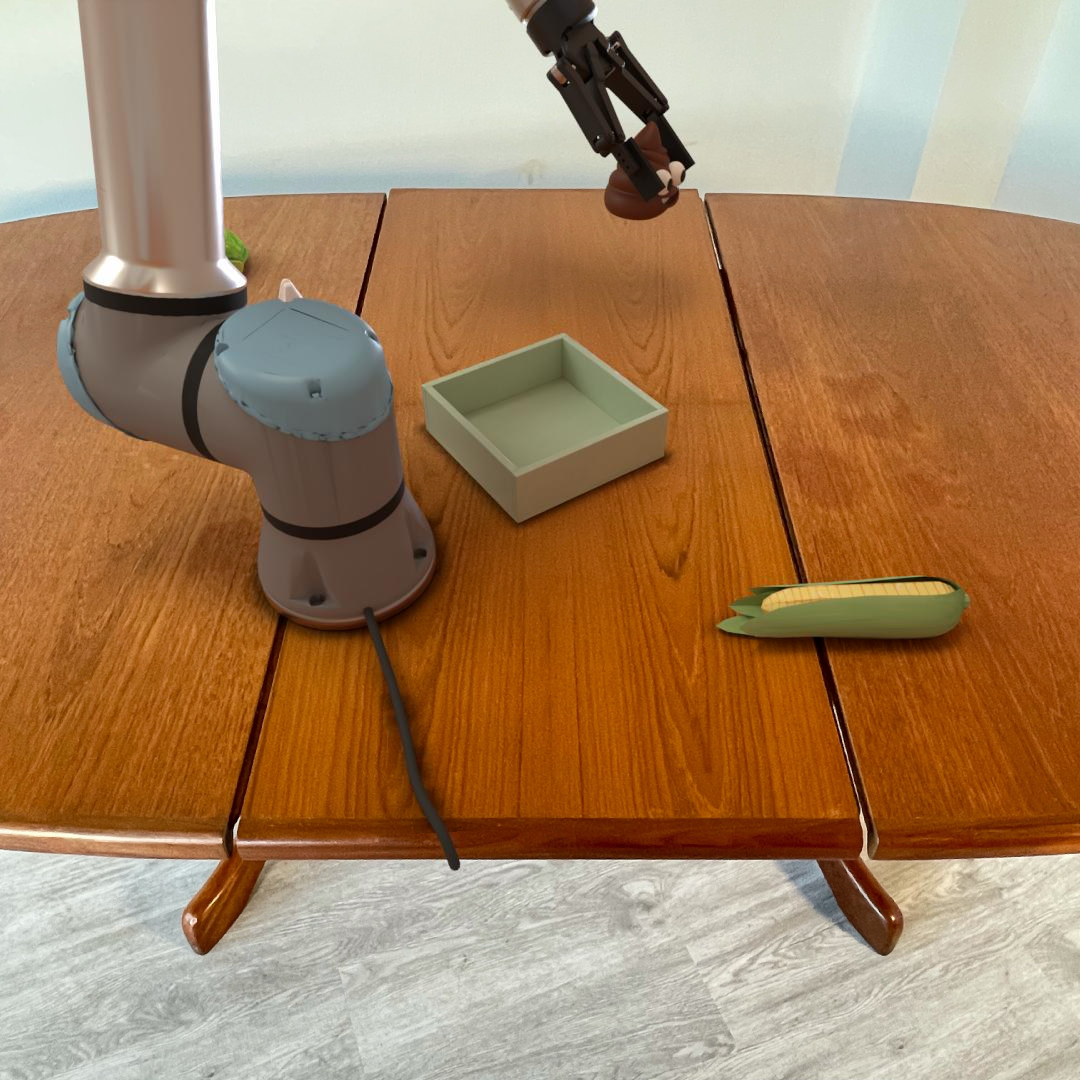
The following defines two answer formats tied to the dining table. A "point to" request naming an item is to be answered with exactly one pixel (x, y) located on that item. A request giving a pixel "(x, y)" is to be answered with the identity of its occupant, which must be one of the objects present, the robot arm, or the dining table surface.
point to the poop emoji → (624, 194)
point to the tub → (544, 424)
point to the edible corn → (852, 609)
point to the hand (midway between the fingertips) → (671, 182)
